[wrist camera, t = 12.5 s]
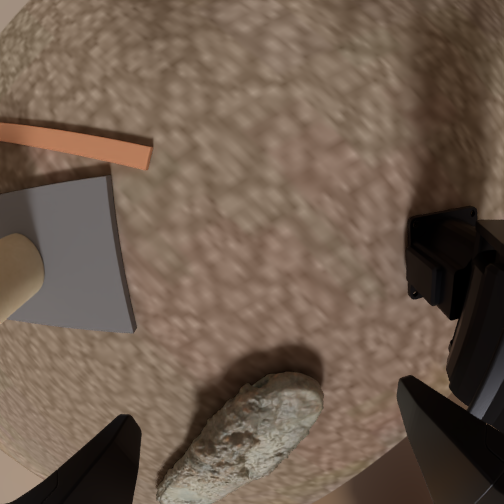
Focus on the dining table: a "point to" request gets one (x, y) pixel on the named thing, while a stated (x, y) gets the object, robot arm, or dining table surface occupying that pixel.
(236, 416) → the long grey stone
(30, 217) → the mat
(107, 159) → the orange curved strip
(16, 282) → the candle
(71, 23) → the dining table surface
